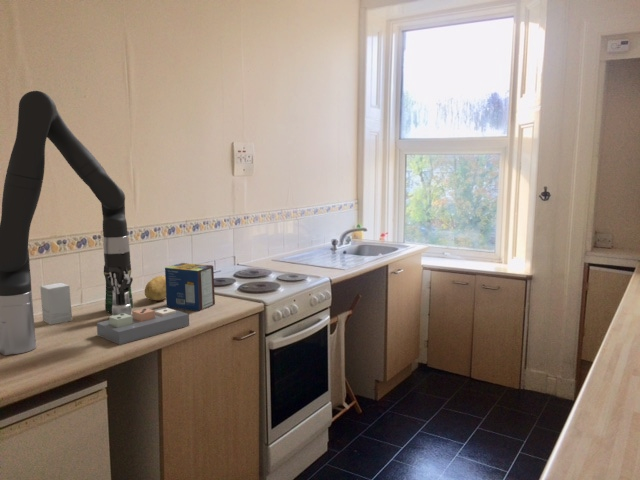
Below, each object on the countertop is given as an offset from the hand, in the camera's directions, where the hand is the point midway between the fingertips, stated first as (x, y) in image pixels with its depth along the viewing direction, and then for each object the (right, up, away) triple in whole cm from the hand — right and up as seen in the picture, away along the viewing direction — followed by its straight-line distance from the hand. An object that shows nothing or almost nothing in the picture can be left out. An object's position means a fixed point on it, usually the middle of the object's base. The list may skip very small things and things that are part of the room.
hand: (120, 304), depth 165 cm
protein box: (+13, -5, +37) cm, 40 cm away
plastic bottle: (-8, -7, +22) cm, 25 cm away
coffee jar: (-12, -6, +31) cm, 34 cm away
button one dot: (+10, -8, +13) cm, 19 cm away
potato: (-3, -4, +47) cm, 47 cm away
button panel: (+5, -9, +7) cm, 13 cm away
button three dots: (+5, -7, +7) cm, 11 cm away
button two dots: (0, -8, +1) cm, 8 cm away
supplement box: (-29, -8, +18) cm, 35 cm away
